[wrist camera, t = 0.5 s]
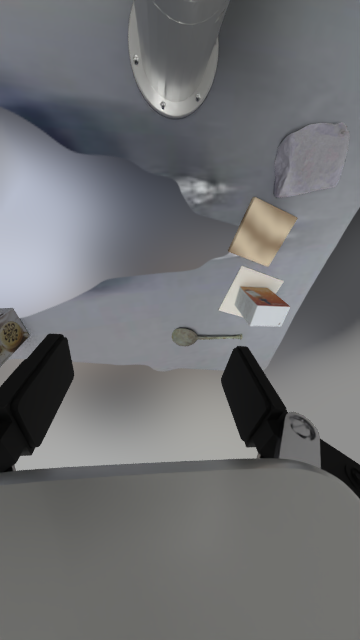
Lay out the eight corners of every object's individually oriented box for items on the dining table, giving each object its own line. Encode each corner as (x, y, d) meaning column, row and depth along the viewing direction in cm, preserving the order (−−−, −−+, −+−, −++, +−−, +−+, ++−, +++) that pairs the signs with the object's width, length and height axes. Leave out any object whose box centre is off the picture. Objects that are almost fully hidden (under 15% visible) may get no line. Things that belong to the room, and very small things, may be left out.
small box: (267, 287, 48) (292, 306, 39) (260, 306, 51) (281, 327, 42) (239, 285, 47) (257, 305, 38) (233, 304, 50) (249, 326, 41)
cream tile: (241, 265, 44) (242, 266, 44) (283, 281, 48) (283, 281, 47) (218, 309, 51) (218, 310, 50) (256, 320, 54) (257, 321, 54)
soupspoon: (171, 324, 53) (170, 340, 57) (171, 331, 50) (170, 348, 54) (243, 327, 55) (237, 342, 59) (247, 334, 53) (240, 350, 56)
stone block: (270, 142, 34) (271, 203, 38) (286, 126, 29) (286, 197, 33) (331, 128, 34) (326, 190, 38) (357, 110, 29) (348, 183, 33)
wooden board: (252, 197, 37) (255, 196, 36) (294, 217, 40) (297, 218, 39) (227, 250, 42) (229, 251, 41) (266, 265, 45) (268, 266, 44)
